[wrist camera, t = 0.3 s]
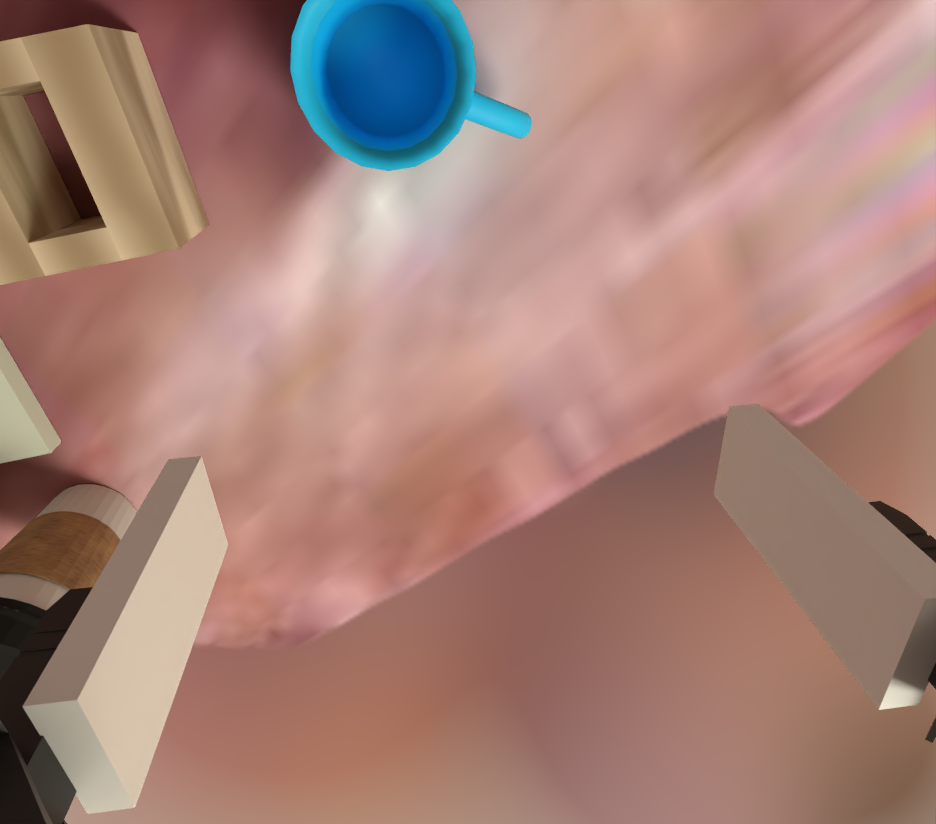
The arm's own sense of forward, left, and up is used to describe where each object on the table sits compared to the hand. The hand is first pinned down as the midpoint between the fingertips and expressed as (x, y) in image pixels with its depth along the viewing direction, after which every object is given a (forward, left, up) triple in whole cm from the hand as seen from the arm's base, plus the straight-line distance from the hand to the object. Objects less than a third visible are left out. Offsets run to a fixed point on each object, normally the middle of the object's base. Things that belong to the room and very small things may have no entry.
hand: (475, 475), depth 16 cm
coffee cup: (+15, -28, -27) cm, 42 cm away
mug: (-8, +1, -27) cm, 28 cm away
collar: (-8, -18, -27) cm, 33 cm away
